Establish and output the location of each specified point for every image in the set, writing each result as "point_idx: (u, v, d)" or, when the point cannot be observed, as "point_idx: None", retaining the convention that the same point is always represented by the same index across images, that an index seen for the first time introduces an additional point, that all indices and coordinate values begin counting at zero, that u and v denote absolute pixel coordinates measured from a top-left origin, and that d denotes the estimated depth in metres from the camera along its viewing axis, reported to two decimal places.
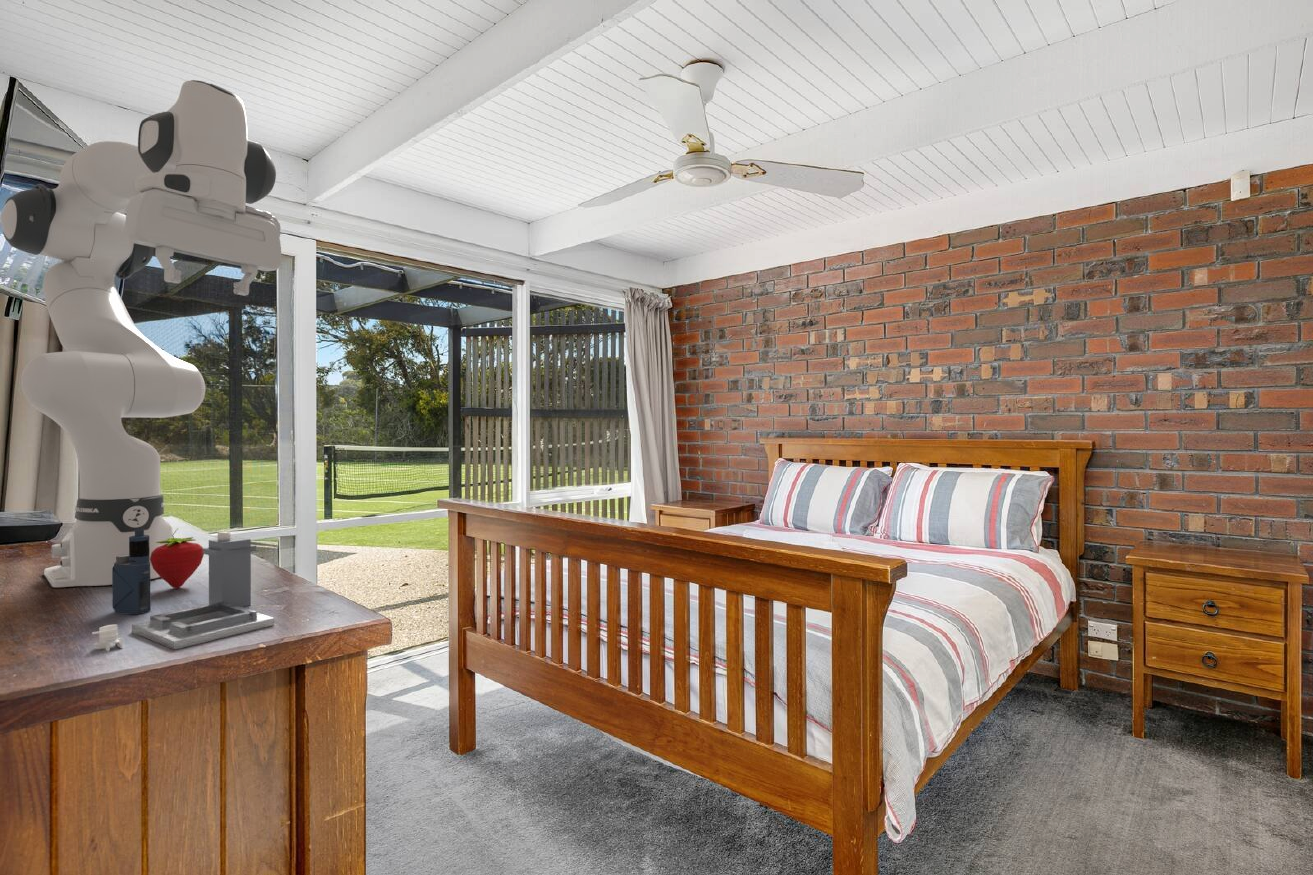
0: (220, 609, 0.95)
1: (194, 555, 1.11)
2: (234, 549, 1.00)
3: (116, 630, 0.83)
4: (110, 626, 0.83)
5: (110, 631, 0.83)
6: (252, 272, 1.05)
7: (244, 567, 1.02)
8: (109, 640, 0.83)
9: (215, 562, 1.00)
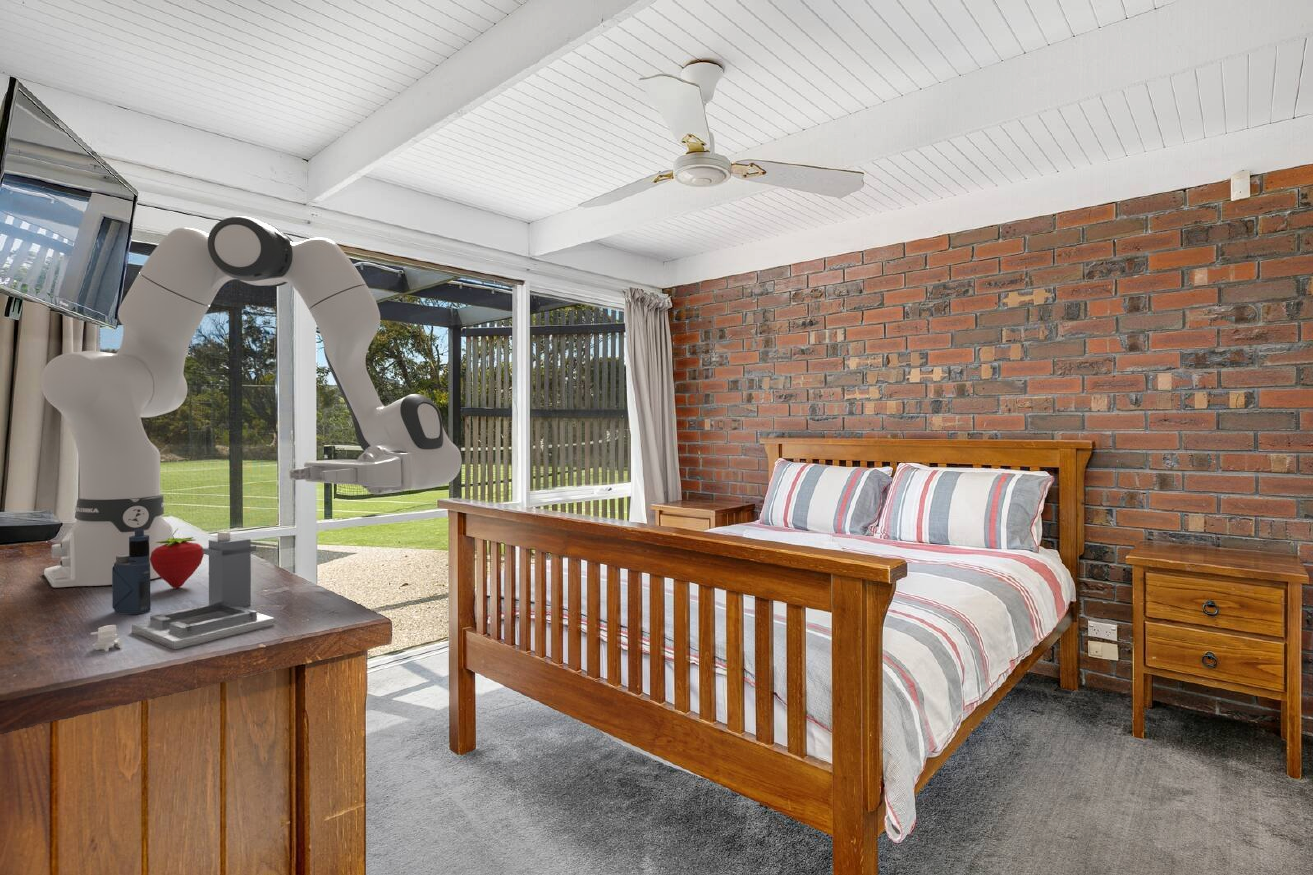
0: (220, 609, 0.95)
1: (194, 555, 1.11)
2: (234, 549, 1.00)
3: (115, 630, 0.83)
4: (109, 626, 0.83)
5: (109, 631, 0.83)
6: (309, 478, 1.17)
7: (244, 567, 1.02)
8: (108, 641, 0.83)
9: (215, 562, 1.00)
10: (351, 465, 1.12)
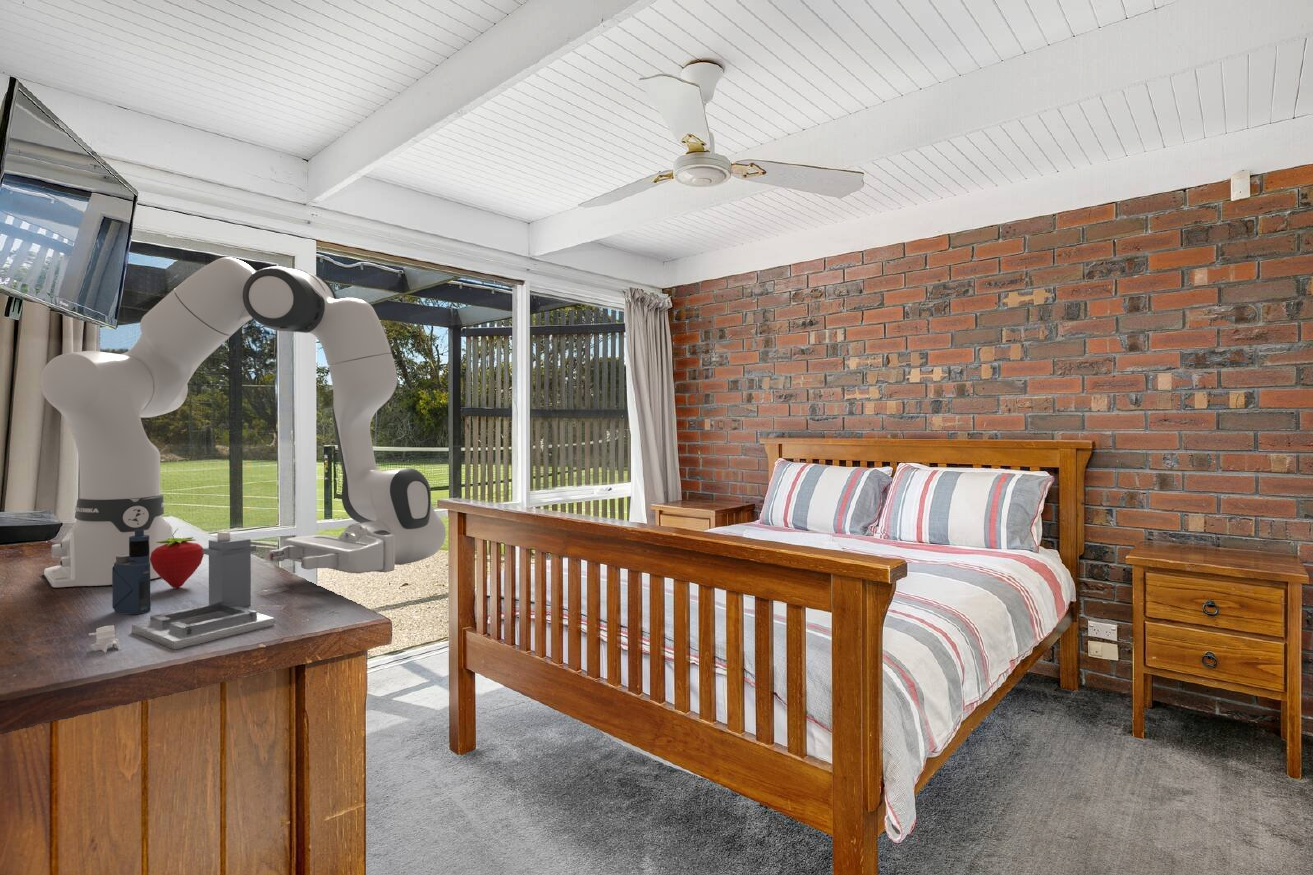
0: (220, 609, 0.95)
1: (194, 555, 1.11)
2: (234, 549, 1.00)
3: (113, 631, 0.83)
4: (107, 627, 0.83)
5: (107, 632, 0.82)
6: (288, 558, 1.15)
7: (244, 567, 1.01)
8: (106, 641, 0.82)
9: (215, 562, 1.00)
10: (332, 550, 1.10)
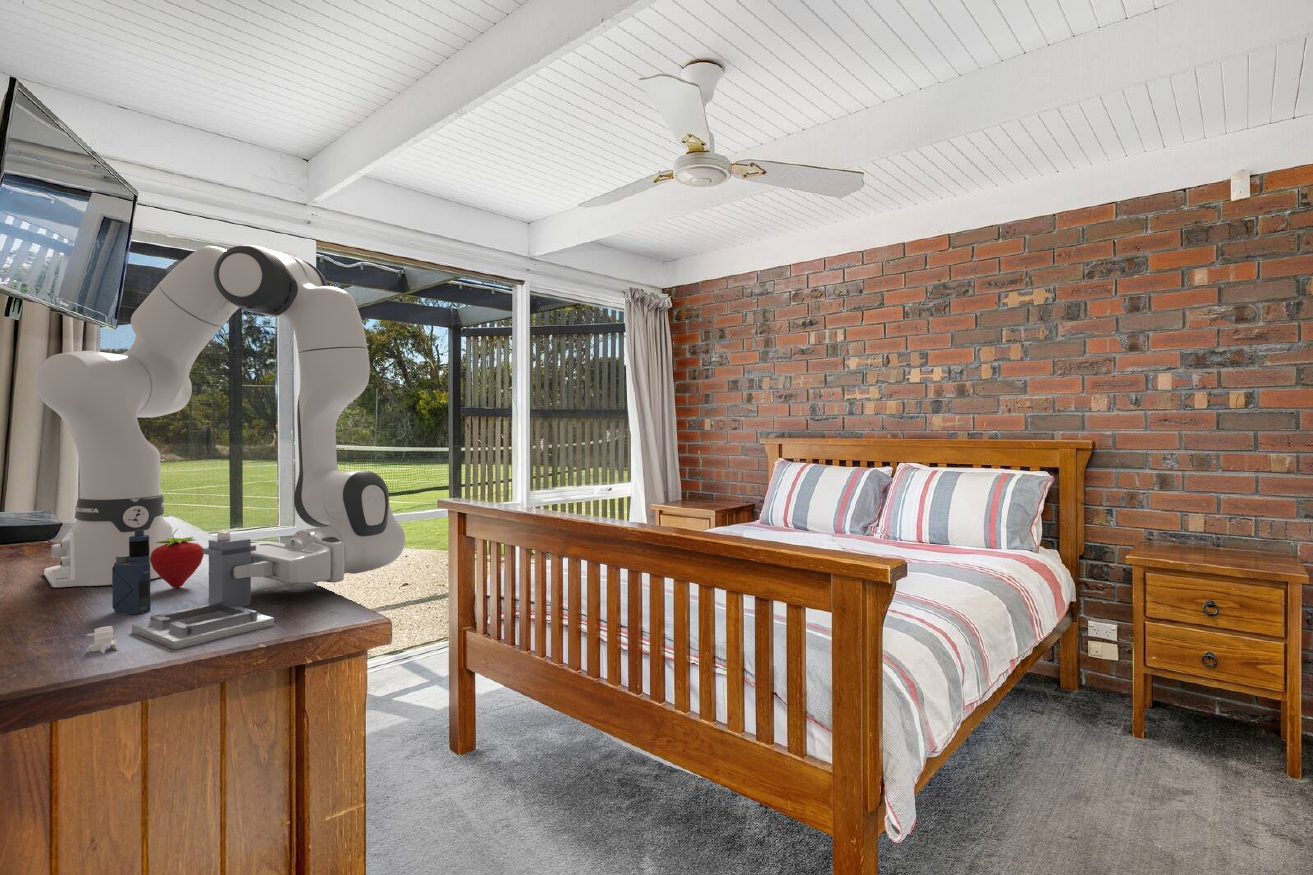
0: (220, 609, 0.95)
1: (194, 555, 1.11)
2: (234, 549, 1.00)
3: (111, 632, 0.82)
4: (105, 628, 0.82)
5: (105, 633, 0.82)
6: None
7: None
8: (104, 642, 0.82)
9: (215, 561, 1.00)
10: (273, 559, 1.02)
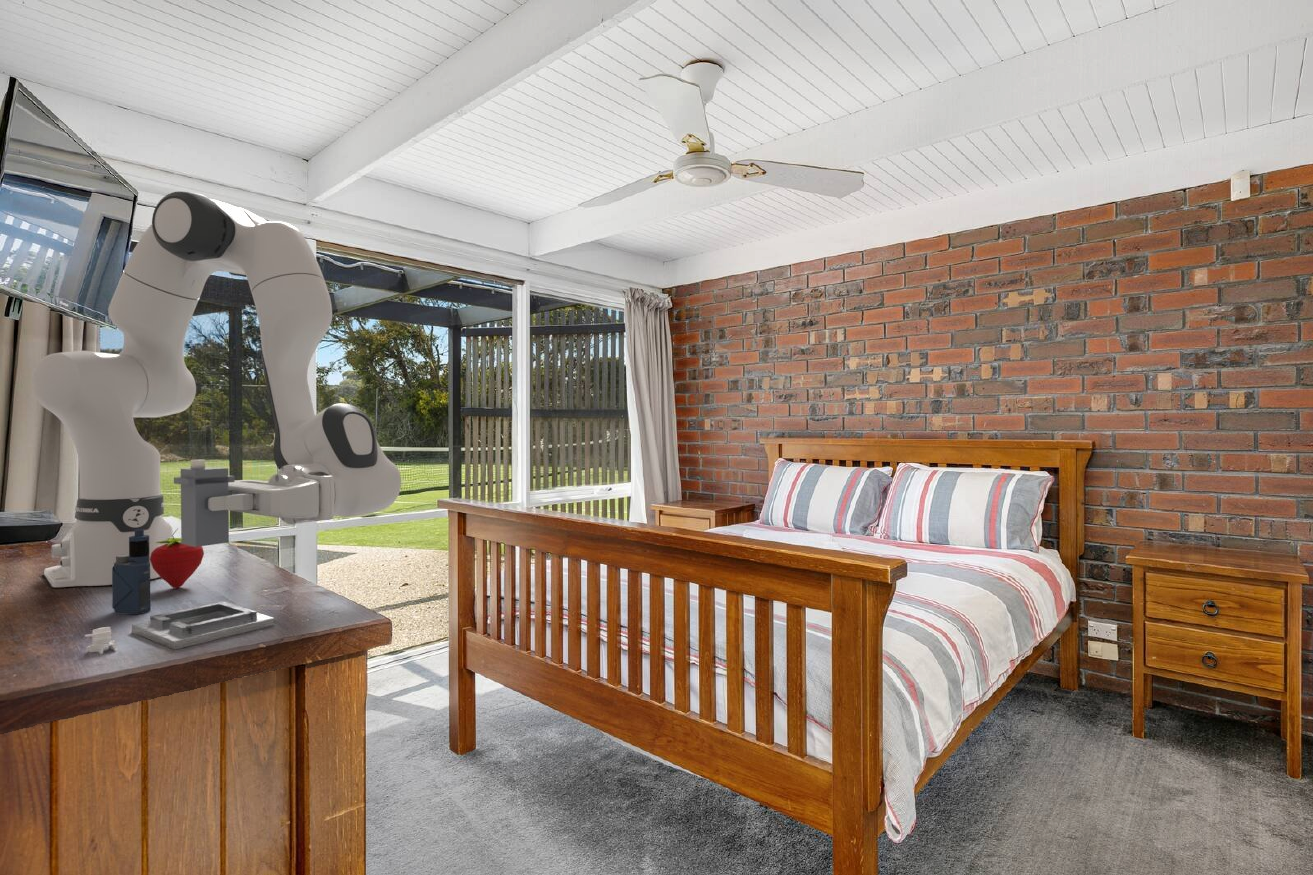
0: (220, 609, 0.95)
1: (194, 555, 1.11)
2: (209, 478, 0.89)
3: (109, 632, 0.82)
4: (103, 628, 0.82)
5: (103, 634, 0.82)
6: None
7: None
8: (102, 643, 0.82)
9: (187, 492, 0.89)
10: (254, 490, 0.91)
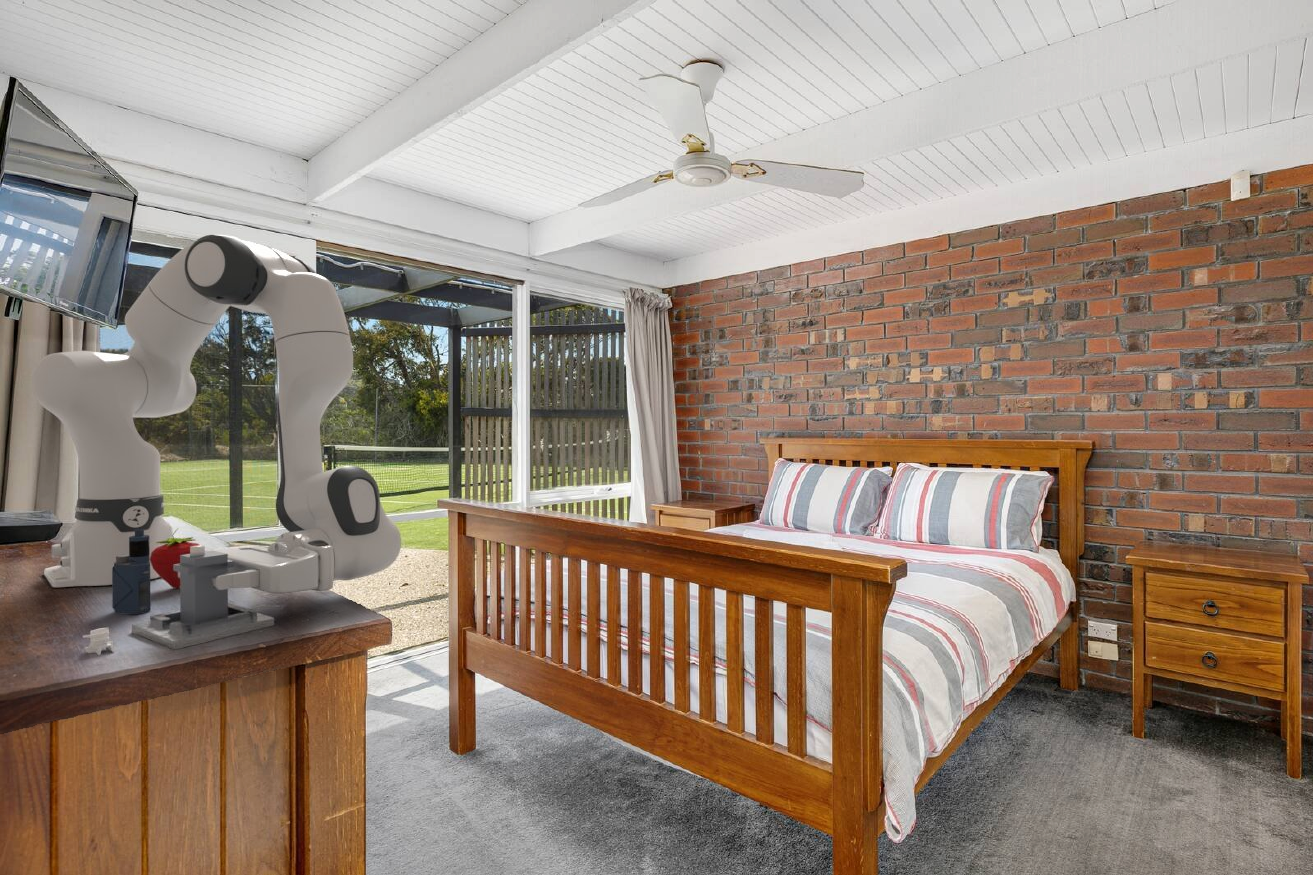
0: None
1: None
2: (208, 565, 0.89)
3: (107, 633, 0.82)
4: (101, 629, 0.82)
5: (101, 634, 0.81)
6: None
7: None
8: (100, 644, 0.81)
9: (187, 580, 0.89)
10: (253, 565, 0.91)
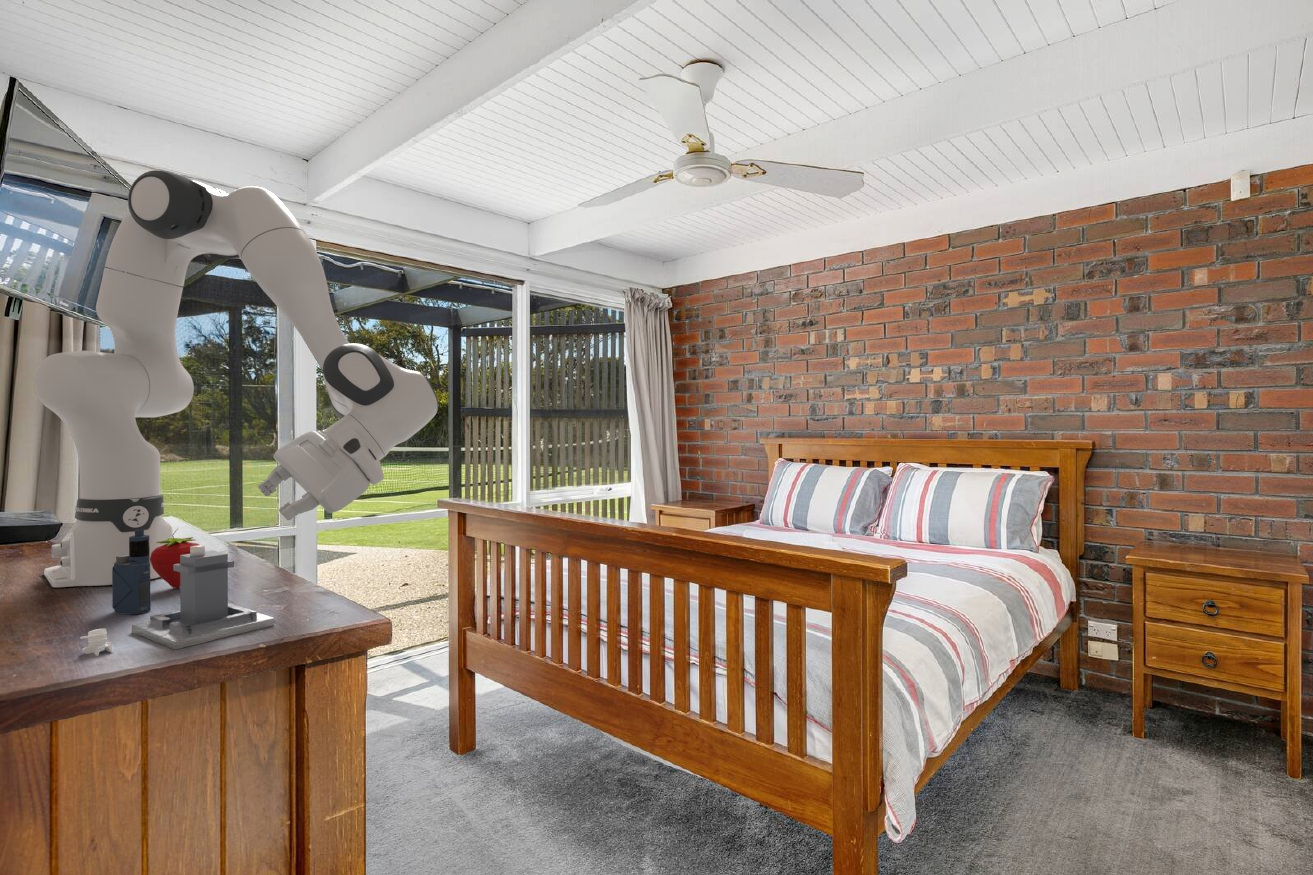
0: None
1: None
2: (208, 565, 0.89)
3: (105, 634, 0.82)
4: (99, 630, 0.81)
5: (99, 635, 0.81)
6: None
7: (220, 585, 0.90)
8: (98, 645, 0.81)
9: (187, 580, 0.89)
10: (306, 488, 1.00)
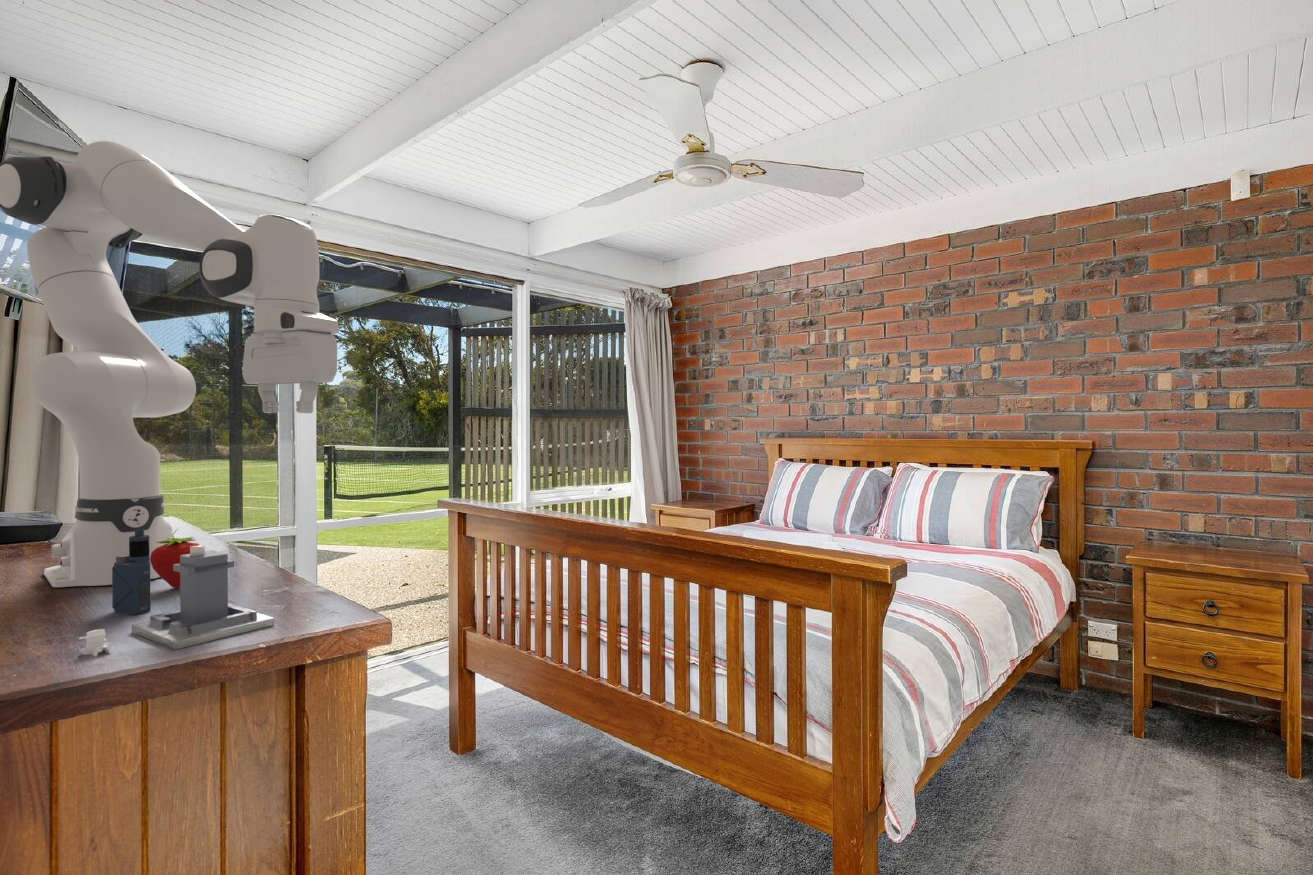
0: None
1: None
2: (208, 565, 0.89)
3: (104, 635, 0.81)
4: (98, 631, 0.81)
5: (98, 636, 0.81)
6: (273, 390, 1.08)
7: (220, 585, 0.90)
8: (96, 645, 0.81)
9: (187, 580, 0.89)
10: (296, 381, 1.00)
